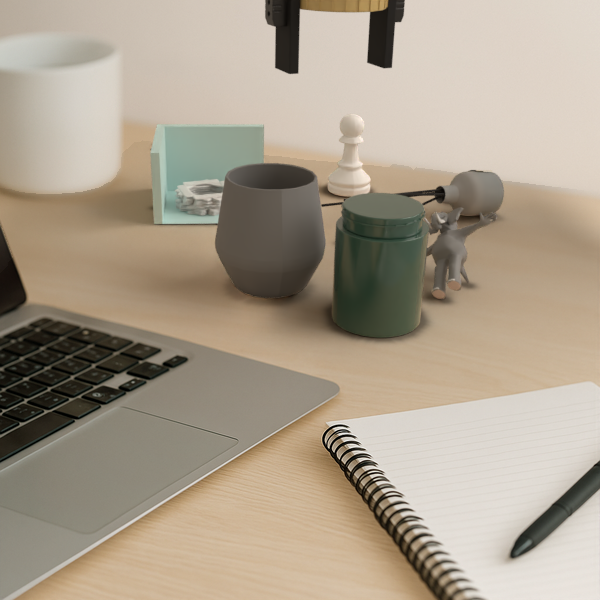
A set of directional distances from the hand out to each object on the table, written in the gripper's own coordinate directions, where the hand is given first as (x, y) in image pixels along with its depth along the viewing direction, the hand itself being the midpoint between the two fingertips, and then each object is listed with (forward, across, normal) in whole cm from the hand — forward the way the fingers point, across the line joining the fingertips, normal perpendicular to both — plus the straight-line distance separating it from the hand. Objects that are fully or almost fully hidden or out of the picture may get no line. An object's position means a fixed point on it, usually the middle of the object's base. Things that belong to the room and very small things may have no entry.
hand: (334, 67), depth 65 cm
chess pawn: (+19, +14, +23) cm, 33 cm away
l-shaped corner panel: (+19, -2, +24) cm, 30 cm away
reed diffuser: (+19, +16, +10) cm, 27 cm away
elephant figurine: (+19, +11, -4) cm, 22 cm away
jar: (+19, +1, -8) cm, 20 cm away
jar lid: (-6, 0, 0) cm, 6 cm away
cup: (+19, -5, +1) cm, 19 cm away
